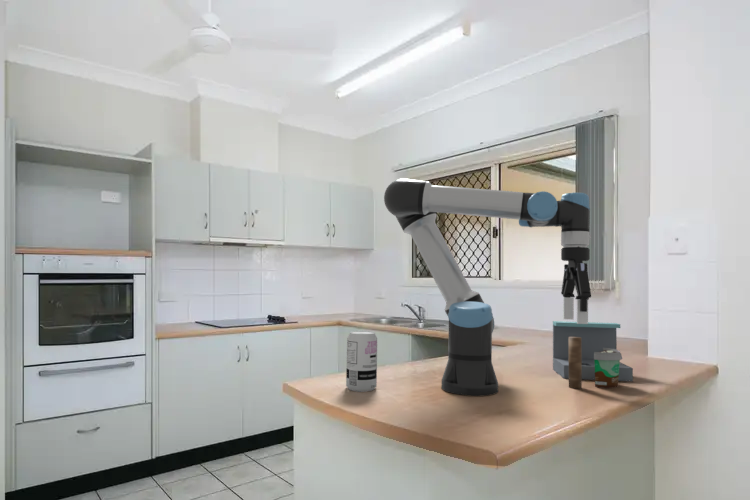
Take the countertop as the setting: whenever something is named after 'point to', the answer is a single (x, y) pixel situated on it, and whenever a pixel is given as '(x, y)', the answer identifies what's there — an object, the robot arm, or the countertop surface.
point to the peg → (575, 362)
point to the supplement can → (361, 361)
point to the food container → (607, 368)
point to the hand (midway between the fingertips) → (575, 321)
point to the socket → (585, 347)
